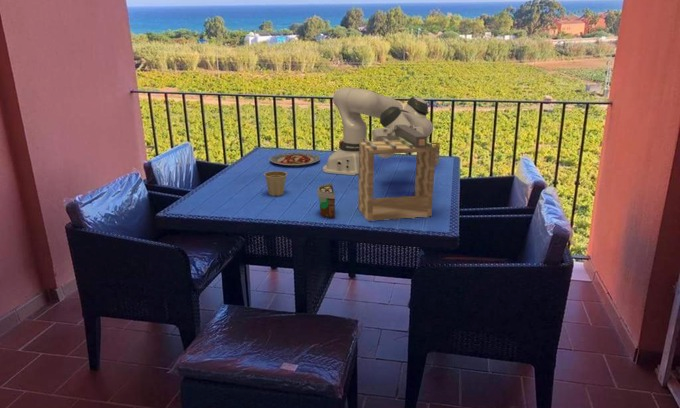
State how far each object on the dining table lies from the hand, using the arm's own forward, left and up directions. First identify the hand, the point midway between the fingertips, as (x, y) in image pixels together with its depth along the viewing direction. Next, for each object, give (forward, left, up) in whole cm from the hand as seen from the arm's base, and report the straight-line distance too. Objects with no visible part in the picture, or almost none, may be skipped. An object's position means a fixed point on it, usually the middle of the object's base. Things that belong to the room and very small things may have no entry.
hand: (403, 127), depth 196 cm
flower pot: (-51, +3, -30) cm, 59 cm away
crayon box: (+14, +61, -30) cm, 69 cm away
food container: (-27, -18, -30) cm, 44 cm away
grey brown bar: (+3, -7, -4) cm, 8 cm away
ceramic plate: (-55, +57, -30) cm, 85 cm away
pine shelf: (-2, -13, -30) cm, 33 cm away
